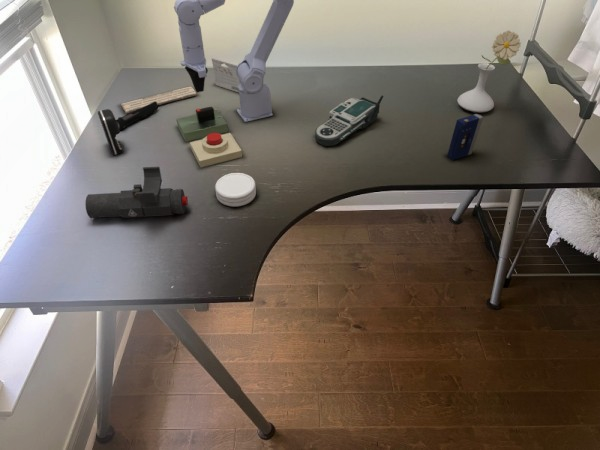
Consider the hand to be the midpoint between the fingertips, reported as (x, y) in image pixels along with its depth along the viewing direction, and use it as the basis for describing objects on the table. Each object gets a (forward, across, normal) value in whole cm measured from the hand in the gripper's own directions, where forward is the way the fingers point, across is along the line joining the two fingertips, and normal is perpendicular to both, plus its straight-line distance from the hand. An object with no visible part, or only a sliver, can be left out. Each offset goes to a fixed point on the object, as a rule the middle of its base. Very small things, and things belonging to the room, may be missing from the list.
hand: (199, 90), depth 131 cm
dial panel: (+10, +4, -2) cm, 11 cm away
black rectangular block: (+7, +4, 0) cm, 8 cm away
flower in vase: (+10, +29, +83) cm, 89 cm away
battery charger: (+11, +4, -27) cm, 29 cm away
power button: (+7, +18, -2) cm, 19 cm away
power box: (+10, +18, -2) cm, 21 cm away
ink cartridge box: (+10, -18, +14) cm, 25 cm away
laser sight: (+11, +34, -26) cm, 45 cm away
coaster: (+11, +38, -3) cm, 39 cm away
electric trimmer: (+11, -10, -19) cm, 24 cm away
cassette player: (+10, +48, +60) cm, 78 cm away
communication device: (+10, +22, +37) cm, 44 cm away
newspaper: (+11, -19, -10) cm, 24 cm away
